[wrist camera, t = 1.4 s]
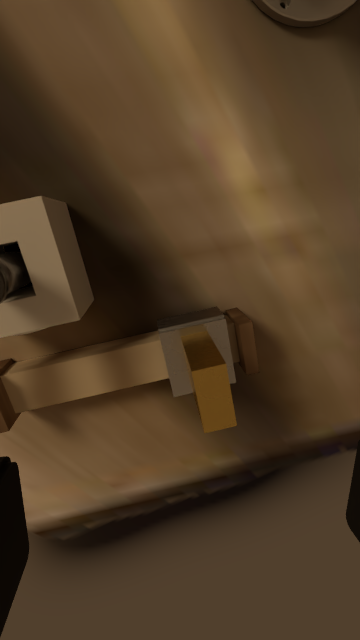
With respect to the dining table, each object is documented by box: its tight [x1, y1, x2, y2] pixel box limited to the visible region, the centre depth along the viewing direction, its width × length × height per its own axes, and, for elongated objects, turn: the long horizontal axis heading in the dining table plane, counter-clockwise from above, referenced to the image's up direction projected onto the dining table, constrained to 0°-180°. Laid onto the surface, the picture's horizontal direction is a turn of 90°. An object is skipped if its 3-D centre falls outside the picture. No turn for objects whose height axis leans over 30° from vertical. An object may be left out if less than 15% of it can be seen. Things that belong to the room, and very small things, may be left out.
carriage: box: [157, 307, 237, 433], centre depth 27 cm, size 6×7×11 cm
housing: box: [0, 196, 94, 338], centre depth 26 cm, size 9×9×7 cm
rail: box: [0, 308, 259, 433], centre depth 30 cm, size 24×5×5 cm, turn 101°
